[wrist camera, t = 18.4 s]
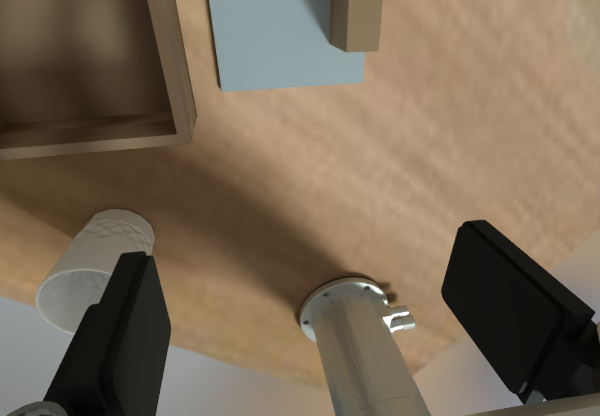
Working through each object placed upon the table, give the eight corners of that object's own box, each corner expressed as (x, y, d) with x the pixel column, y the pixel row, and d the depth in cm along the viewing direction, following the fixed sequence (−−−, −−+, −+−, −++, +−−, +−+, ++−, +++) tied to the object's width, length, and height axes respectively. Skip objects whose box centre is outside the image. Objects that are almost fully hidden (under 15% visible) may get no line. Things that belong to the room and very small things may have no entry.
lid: (369, -78, 27) (401, -93, 22) (359, 80, 34) (383, 95, 29) (198, -77, 25) (192, -94, 20) (221, 89, 32) (221, 107, 27)
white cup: (176, 241, 39) (162, 310, 30) (118, 274, 40) (89, 350, 31) (124, 189, 35) (91, 252, 26) (60, 227, 35) (9, 300, 27)
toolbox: (167, -46, 26) (134, -66, 16) (196, 115, 32) (185, 165, 23) (-158, -41, 23) (-415, -62, 14) (-54, 135, 29) (-183, 201, 20)
